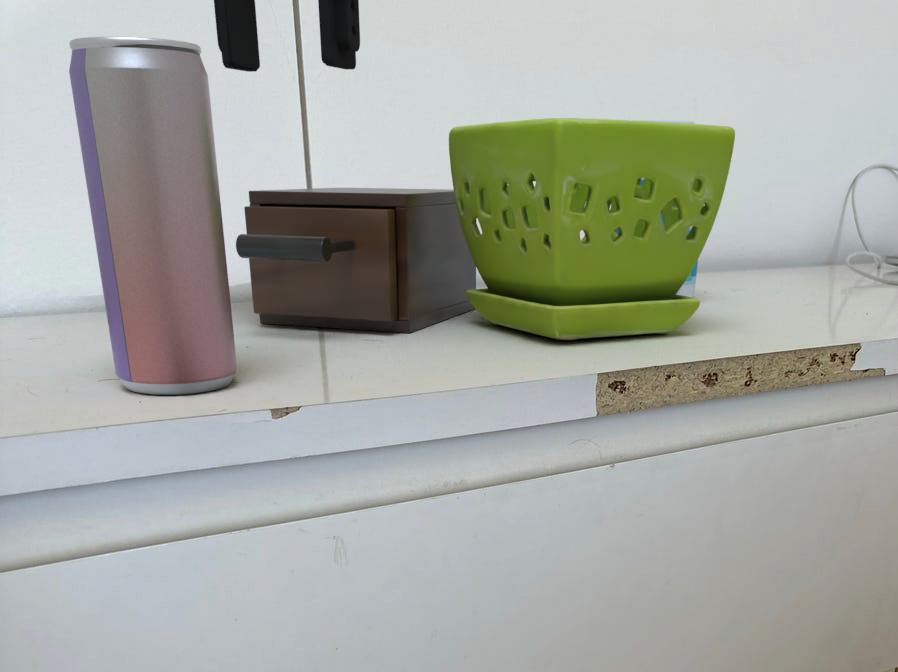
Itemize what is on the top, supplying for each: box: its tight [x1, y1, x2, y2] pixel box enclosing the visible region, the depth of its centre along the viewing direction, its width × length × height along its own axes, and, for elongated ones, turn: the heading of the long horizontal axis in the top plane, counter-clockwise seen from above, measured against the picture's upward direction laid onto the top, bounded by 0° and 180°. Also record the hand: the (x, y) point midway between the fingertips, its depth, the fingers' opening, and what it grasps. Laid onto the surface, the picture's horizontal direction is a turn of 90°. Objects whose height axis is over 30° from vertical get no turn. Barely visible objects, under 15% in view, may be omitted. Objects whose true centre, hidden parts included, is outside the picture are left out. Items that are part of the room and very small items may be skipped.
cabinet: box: [248, 187, 477, 334], centre depth 71 cm, size 14×12×9 cm
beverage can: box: [68, 36, 238, 396], centre depth 47 cm, size 6×6×15 cm
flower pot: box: [448, 117, 736, 341], centre depth 65 cm, size 14×14×13 cm
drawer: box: [235, 205, 399, 322], centre depth 67 cm, size 17×10×7 cm, turn 161°
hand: (289, 65), depth 58 cm, fingers open, 5 cm apart
